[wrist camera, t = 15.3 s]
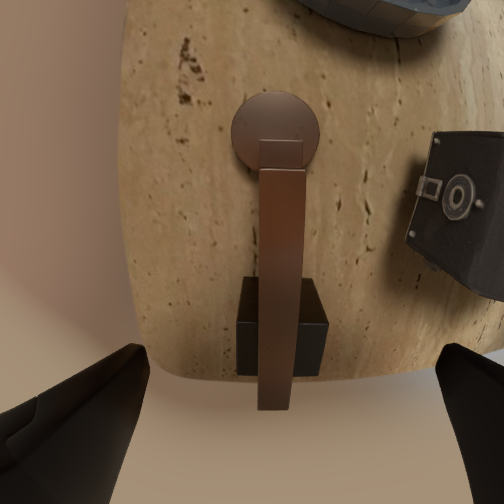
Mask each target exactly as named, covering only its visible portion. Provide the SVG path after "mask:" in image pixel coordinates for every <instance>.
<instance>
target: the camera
mask: <svg viewBox="0 0 504 504" xmlns="http://www.w3.org/2000/svg"><path fill="white" fill-rule="evenodd" d="M416 195H418V198H417V201H416V205H415V208H414V211H413V214H412V217H411V220H410V223H409V226H408V229H407V232H406V235H405V243H407V245H408V246H409V247H411V248H412V249H413V250H415V251H417V252H418V253H420V254H421V255H423V256H424V257H425V258H424V260H423V263H422V265H423V266H424V267H425V268H427V269H429V270H431V271H434V272H437V273H438V272H440V270H441V269H442V270H443V271H445V272H446V273H447V274H449V275H450V276H451V277H453V278H454V279H455V280H456V281H458V282H459V283H460V284H462V285H463V286H465V287H467V288H468V289H470V290H471V291H473V292H474V293H476V294H478V295H480V296H483V297H486V298H489V299H493V300H497V301H501V302H504V132H493V131H447V132H433V134H432V137H431V142H430V147H429V152H428V157H427V162H426V166H425V171H424V175H423V176H420V179H419V183H418V187H417V191H416Z"/></svg>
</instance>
